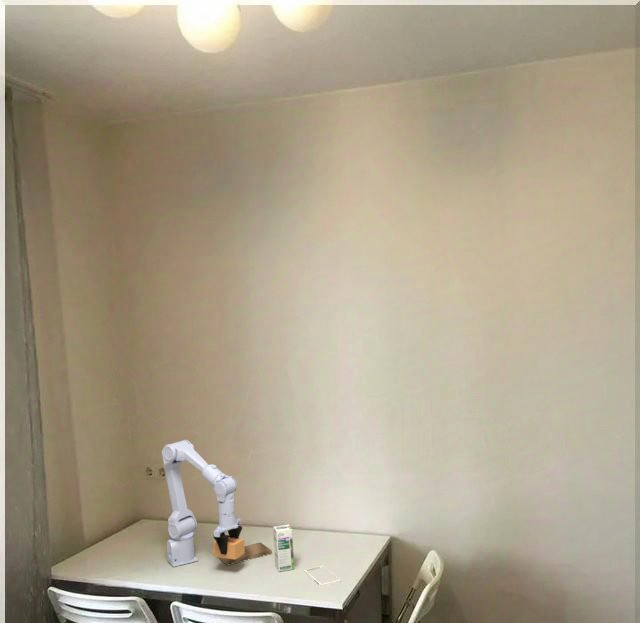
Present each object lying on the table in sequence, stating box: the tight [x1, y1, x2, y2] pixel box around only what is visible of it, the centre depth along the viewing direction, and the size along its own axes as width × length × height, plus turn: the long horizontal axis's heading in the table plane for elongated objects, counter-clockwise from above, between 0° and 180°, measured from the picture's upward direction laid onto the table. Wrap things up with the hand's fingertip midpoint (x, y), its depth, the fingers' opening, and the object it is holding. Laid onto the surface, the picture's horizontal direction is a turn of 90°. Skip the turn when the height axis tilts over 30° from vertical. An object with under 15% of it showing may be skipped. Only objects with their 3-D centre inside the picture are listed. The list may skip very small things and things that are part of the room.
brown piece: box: [217, 542, 273, 566], centre depth 257 cm, size 18×10×6 cm, turn 119°
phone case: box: [303, 564, 341, 587], centre depth 234 cm, size 7×1×15 cm
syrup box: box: [272, 524, 295, 572], centre depth 243 cm, size 6×6×14 cm
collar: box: [212, 538, 245, 560], centre depth 243 cm, size 6×9×5 cm, turn 64°
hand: (228, 550), depth 243 cm, fingers closed on collar, 6 cm apart
